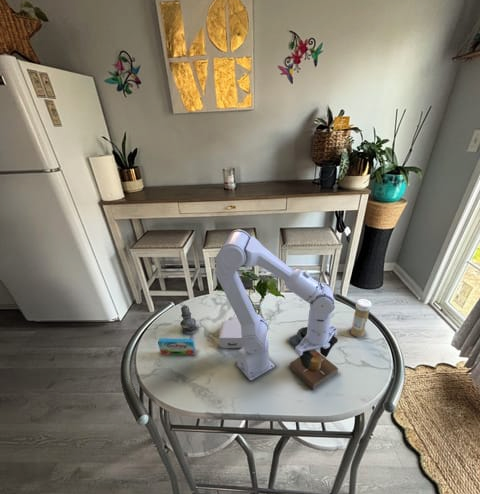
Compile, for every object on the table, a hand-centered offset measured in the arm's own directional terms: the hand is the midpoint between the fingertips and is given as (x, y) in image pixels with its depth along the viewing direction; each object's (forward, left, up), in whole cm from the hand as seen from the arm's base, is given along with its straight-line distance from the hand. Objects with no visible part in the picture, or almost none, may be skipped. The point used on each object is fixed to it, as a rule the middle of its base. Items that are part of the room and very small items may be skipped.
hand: (314, 360), depth 82 cm
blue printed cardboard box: (-32, +32, -5) cm, 45 cm away
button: (+7, +10, -2) cm, 13 cm away
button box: (+7, +10, -5) cm, 13 cm away
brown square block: (0, 0, -5) cm, 5 cm away
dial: (0, 0, -2) cm, 2 cm away
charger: (-11, +29, -5) cm, 31 cm away
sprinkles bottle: (+24, +3, -5) cm, 25 cm away
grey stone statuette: (-24, +41, -5) cm, 47 cm away
